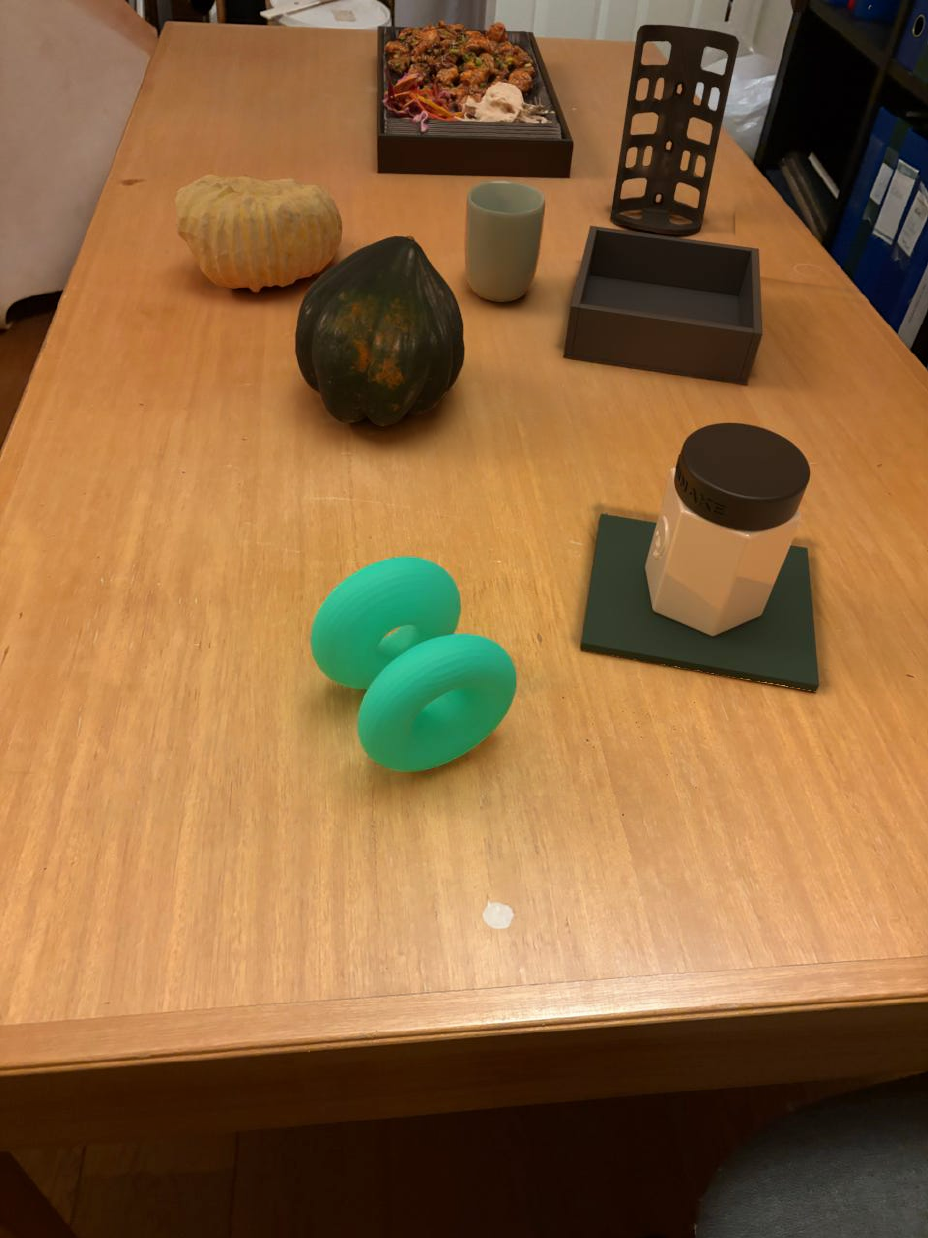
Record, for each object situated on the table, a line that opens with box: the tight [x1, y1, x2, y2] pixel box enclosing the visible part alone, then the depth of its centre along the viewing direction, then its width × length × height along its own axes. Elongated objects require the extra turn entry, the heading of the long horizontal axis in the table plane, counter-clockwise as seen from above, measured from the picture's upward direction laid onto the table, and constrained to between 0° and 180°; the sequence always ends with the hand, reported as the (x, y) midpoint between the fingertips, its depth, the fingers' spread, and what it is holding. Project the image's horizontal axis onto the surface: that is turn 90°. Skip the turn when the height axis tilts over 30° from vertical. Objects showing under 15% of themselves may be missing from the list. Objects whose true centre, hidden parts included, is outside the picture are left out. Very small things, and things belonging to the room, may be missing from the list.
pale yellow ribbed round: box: [174, 173, 343, 293], centre depth 96 cm, size 17×11×15 cm
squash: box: [294, 235, 466, 427], centre depth 79 cm, size 14×15×15 cm
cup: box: [463, 180, 546, 303], centre depth 94 cm, size 8×8×10 cm
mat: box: [579, 513, 820, 692], centre depth 68 cm, size 16×14×1 cm
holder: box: [609, 24, 740, 236], centre depth 105 cm, size 11×8×20 cm
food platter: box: [376, 19, 575, 179], centre depth 130 cm, size 45×25×10 cm, turn 4°
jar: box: [645, 422, 811, 636], centre depth 63 cm, size 9×8×12 cm
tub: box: [562, 225, 764, 386], centre depth 93 cm, size 18×18×5 cm
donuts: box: [309, 556, 518, 773], centre depth 56 cm, size 10×10×10 cm
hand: (896, 16), depth 65 cm, fingers open, 13 cm apart
